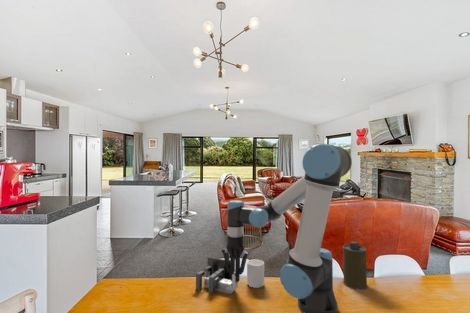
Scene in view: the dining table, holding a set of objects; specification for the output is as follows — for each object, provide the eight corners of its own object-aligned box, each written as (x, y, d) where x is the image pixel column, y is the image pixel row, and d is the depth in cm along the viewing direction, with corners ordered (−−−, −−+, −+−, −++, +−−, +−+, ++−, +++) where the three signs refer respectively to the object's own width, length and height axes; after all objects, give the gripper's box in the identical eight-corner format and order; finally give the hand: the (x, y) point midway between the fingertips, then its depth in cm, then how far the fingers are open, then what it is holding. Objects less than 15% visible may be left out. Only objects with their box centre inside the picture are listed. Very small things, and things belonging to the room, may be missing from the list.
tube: (235, 290, 109) (235, 281, 110) (231, 294, 106) (231, 285, 106) (209, 283, 116) (209, 275, 116) (204, 287, 112) (204, 278, 112)
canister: (362, 292, 108) (361, 247, 110) (339, 283, 116) (338, 241, 117) (371, 284, 116) (369, 242, 117) (348, 277, 123) (348, 237, 125)
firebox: (232, 282, 117) (232, 261, 118) (218, 295, 105) (218, 271, 105) (208, 276, 123) (208, 256, 124) (192, 288, 111) (192, 266, 111)
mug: (245, 277, 123) (245, 256, 123) (261, 277, 123) (261, 256, 124) (247, 288, 111) (247, 265, 112) (265, 288, 111) (265, 265, 112)
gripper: (251, 235, 109) (251, 288, 108) (226, 231, 115) (226, 282, 114) (245, 239, 103) (244, 296, 101) (218, 235, 108) (218, 289, 107)
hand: (234, 288), depth 108 cm, fingers closed
